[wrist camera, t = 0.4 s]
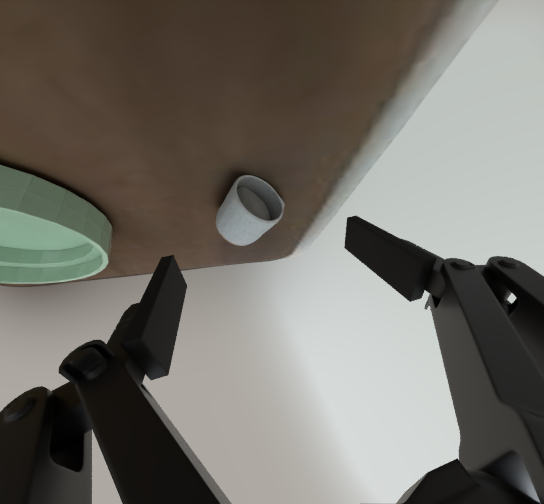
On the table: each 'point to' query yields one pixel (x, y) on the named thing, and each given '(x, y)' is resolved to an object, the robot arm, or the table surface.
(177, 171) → the table surface
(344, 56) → the table surface
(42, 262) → the bowl
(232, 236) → the ceramic mug
